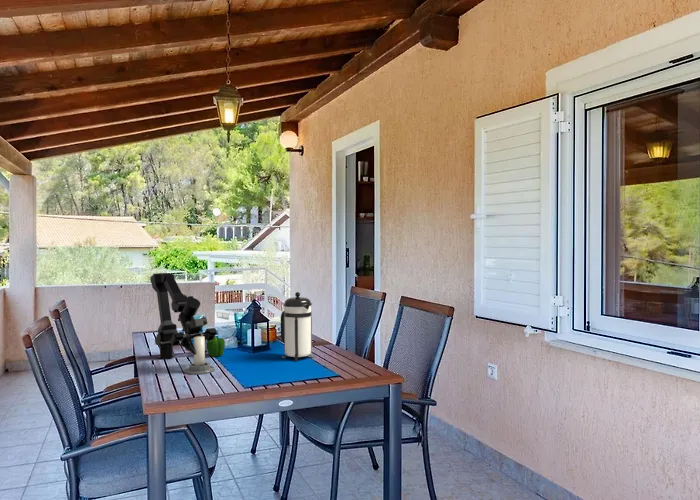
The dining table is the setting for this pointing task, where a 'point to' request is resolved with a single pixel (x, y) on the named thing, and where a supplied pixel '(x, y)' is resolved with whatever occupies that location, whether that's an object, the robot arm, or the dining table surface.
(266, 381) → the dining table surface
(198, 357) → the candle
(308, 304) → the coffee press
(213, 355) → the bell pepper
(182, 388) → the dining table surface
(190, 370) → the holder
